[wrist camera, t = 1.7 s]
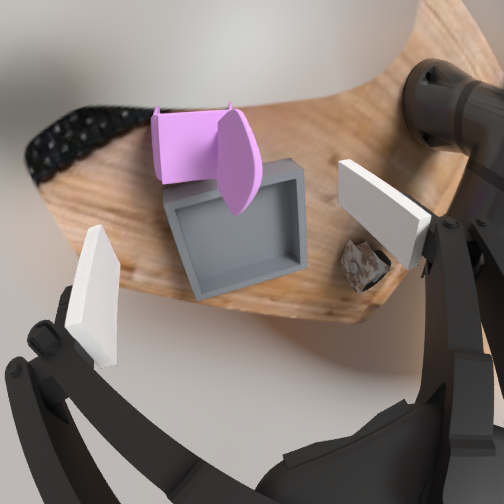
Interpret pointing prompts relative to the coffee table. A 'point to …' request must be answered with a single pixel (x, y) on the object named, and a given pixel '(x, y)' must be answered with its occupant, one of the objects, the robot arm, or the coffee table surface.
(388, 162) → the coffee table surface
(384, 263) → the grey brown rock
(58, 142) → the coffee table surface
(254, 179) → the toy chair
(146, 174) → the coffee table surface
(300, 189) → the tray
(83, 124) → the coffee table surface
